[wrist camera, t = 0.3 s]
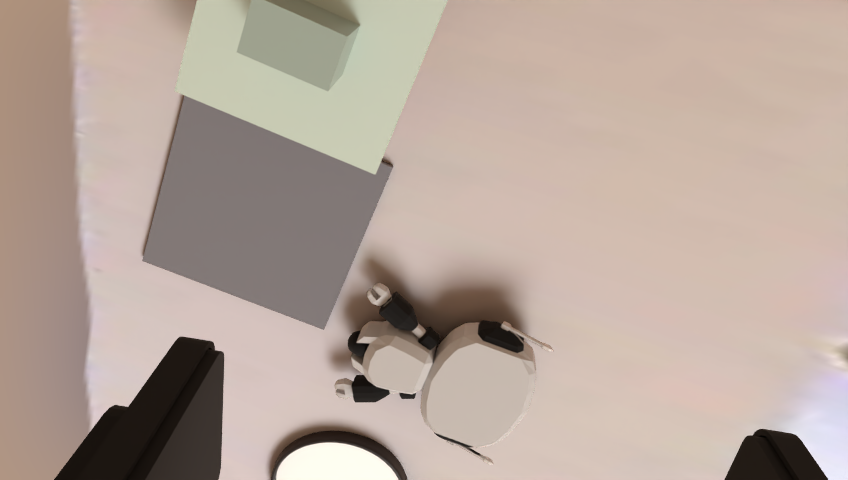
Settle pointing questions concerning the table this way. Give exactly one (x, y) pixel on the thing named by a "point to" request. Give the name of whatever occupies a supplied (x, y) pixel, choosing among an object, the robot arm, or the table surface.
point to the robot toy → (445, 372)
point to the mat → (260, 214)
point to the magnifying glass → (337, 459)
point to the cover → (311, 67)
